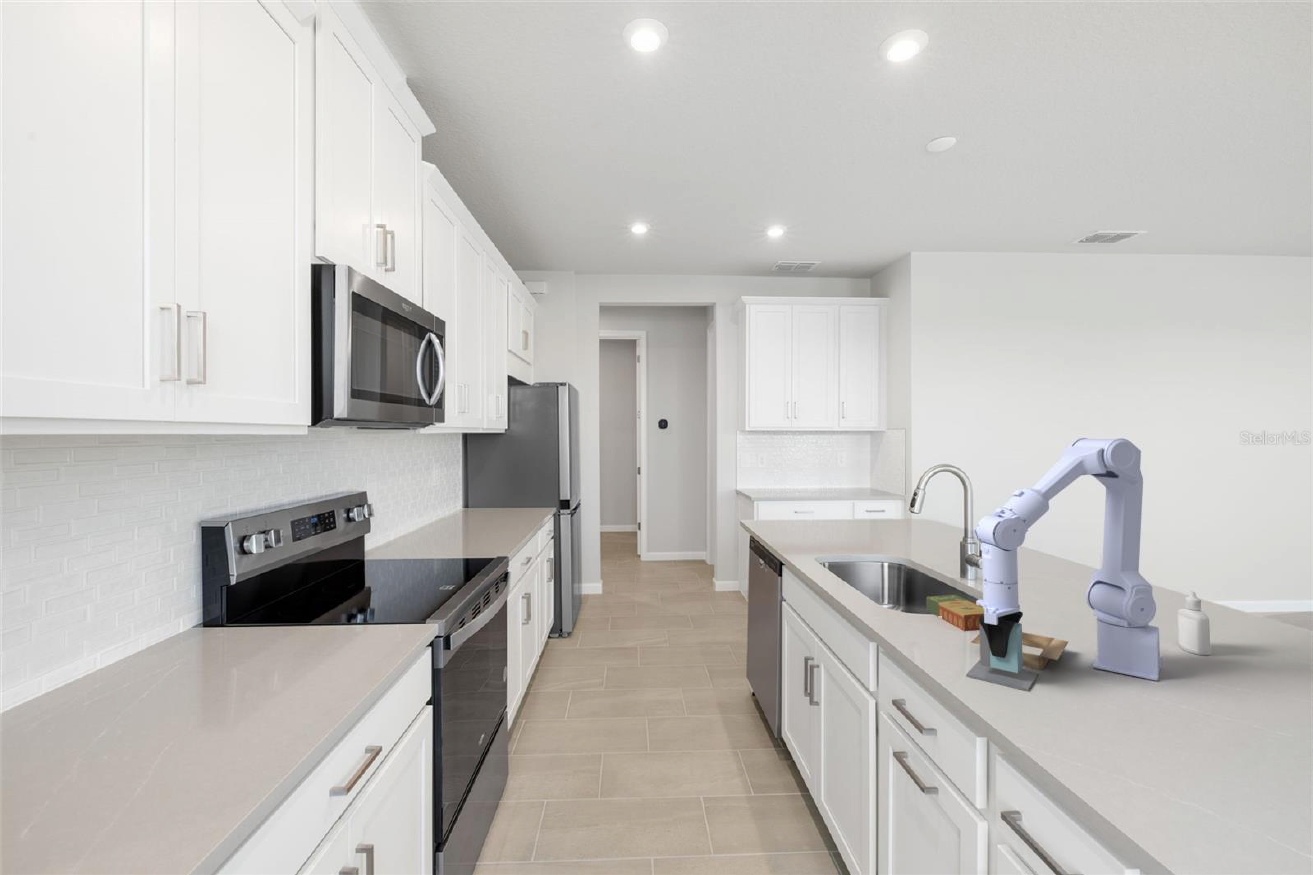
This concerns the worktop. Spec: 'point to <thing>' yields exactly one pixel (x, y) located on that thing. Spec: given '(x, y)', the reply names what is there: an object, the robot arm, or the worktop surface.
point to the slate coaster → (1004, 676)
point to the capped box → (1014, 651)
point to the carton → (956, 611)
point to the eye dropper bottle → (1193, 627)
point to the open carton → (1049, 645)
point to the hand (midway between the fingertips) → (1001, 652)
